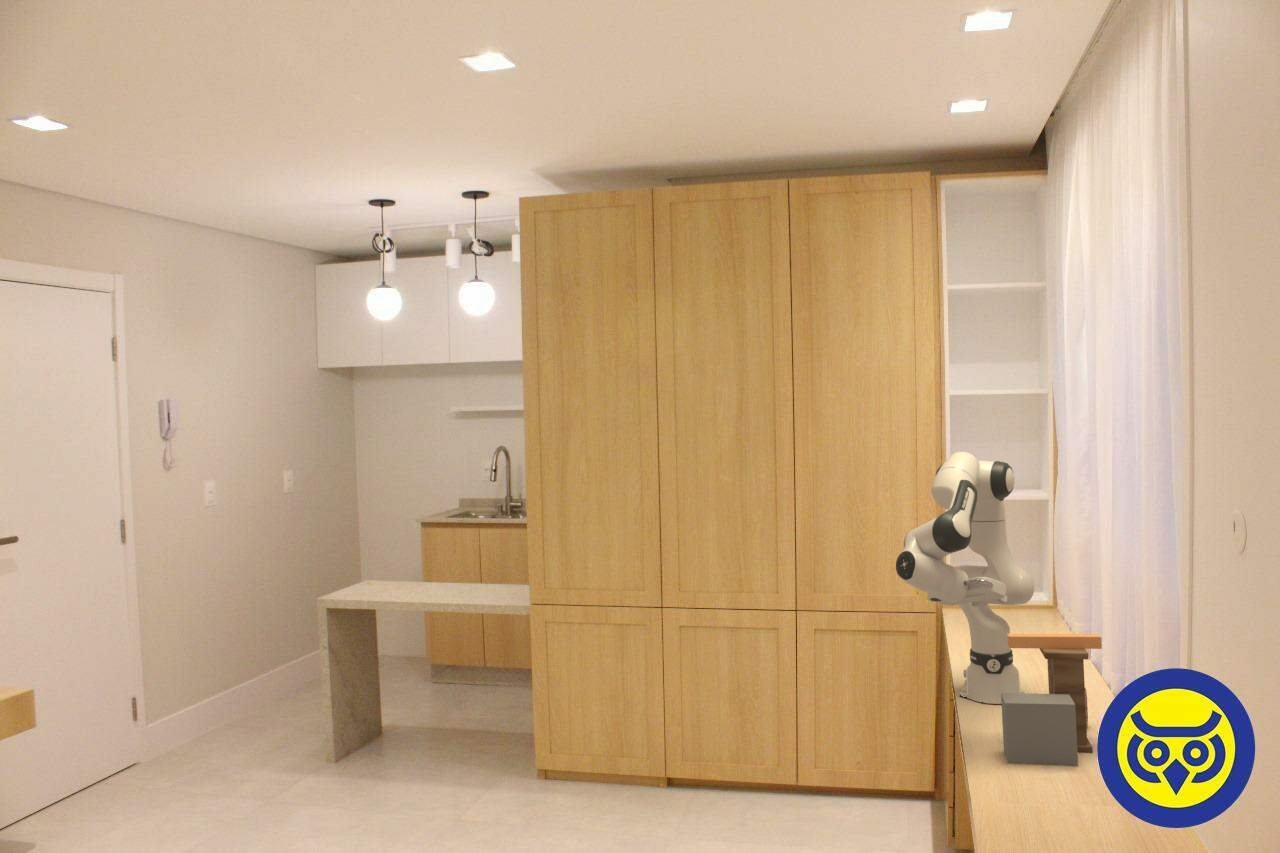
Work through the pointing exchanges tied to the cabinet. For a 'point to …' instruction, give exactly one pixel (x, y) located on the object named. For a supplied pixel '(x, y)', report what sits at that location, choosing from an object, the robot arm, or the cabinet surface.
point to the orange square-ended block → (1055, 641)
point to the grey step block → (1039, 729)
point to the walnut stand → (1070, 685)
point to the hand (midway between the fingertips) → (991, 601)
